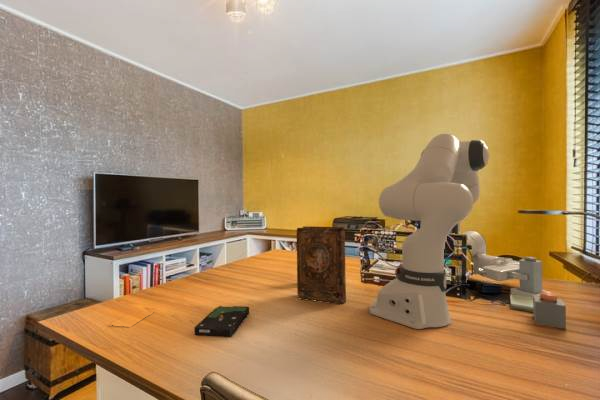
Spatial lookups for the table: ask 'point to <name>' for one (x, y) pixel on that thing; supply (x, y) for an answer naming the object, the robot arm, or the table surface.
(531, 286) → the cartridge
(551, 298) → the button
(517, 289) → the socket collar
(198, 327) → the disk drive
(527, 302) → the tray
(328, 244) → the book
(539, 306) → the button post
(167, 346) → the table surface
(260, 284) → the table surface
